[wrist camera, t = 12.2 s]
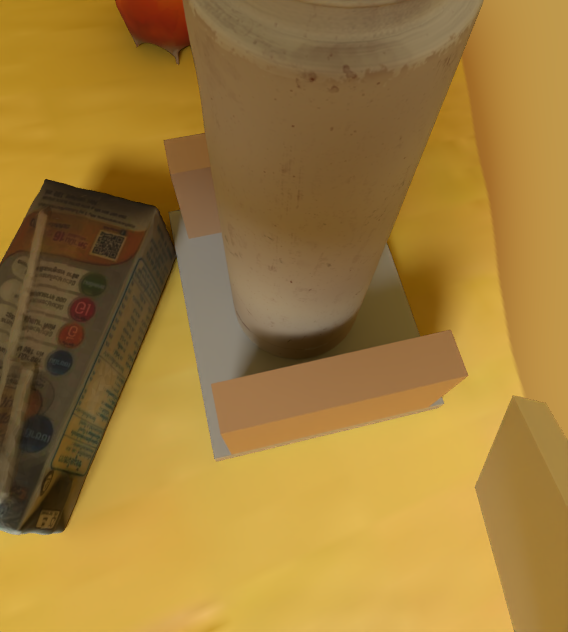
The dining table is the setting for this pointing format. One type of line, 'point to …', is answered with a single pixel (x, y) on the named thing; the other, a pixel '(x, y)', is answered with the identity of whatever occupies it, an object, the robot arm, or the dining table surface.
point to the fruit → (156, 23)
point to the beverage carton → (69, 341)
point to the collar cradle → (294, 374)
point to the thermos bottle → (316, 146)
